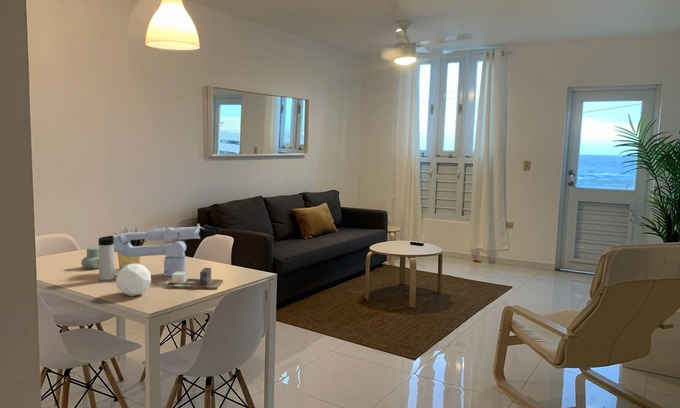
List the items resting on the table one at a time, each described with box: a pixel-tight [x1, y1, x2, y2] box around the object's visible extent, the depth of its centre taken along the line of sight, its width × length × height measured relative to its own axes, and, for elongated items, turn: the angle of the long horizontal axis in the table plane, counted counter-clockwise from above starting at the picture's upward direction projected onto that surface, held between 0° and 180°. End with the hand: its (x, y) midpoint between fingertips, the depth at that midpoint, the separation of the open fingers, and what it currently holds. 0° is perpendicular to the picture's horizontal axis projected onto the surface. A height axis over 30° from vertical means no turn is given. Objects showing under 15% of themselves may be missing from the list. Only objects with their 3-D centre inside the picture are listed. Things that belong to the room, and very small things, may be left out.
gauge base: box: [165, 267, 224, 290], centre depth 228 cm, size 22×13×7 cm, turn 91°
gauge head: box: [171, 270, 188, 283], centre depth 226 cm, size 5×9×4 cm, turn 1°
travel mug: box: [98, 235, 115, 283], centre depth 230 cm, size 6×7×20 cm
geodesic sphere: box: [115, 261, 152, 297], centre depth 210 cm, size 14×14×14 cm
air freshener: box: [80, 246, 99, 270], centre depth 252 cm, size 11×8×10 cm
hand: (217, 231), depth 243 cm, fingers open, 7 cm apart
